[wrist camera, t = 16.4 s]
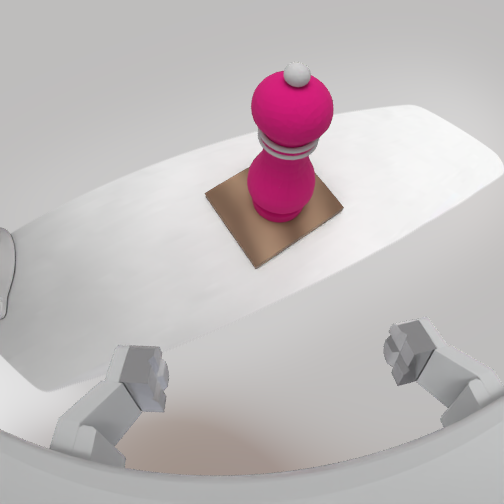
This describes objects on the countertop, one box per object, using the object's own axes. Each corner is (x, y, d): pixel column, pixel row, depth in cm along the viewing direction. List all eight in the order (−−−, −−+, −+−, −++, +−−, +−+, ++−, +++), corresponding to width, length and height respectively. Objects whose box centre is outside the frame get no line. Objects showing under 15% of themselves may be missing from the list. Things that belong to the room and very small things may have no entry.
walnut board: (255, 268, 33) (255, 266, 32) (206, 197, 36) (204, 193, 35) (341, 211, 35) (343, 207, 34) (289, 149, 38) (290, 144, 36)
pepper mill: (268, 163, 36) (277, 28, 16) (318, 192, 34) (368, 65, 15) (236, 206, 34) (216, 74, 15) (288, 238, 33) (326, 121, 14)
